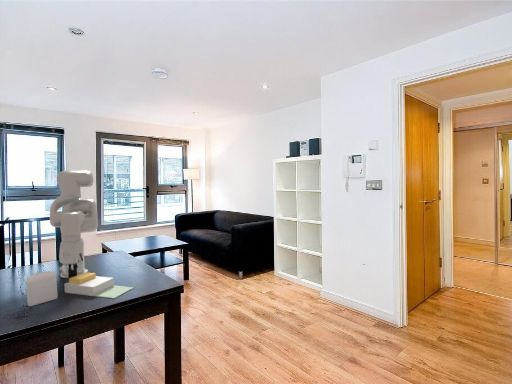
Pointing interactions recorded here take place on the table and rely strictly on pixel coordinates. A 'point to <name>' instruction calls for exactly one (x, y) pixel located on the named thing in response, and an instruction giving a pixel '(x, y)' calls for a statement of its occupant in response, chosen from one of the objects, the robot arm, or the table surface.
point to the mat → (114, 292)
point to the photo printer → (41, 288)
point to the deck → (90, 286)
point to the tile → (82, 278)
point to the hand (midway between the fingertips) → (72, 277)
